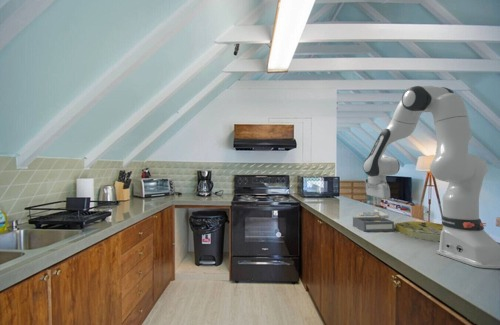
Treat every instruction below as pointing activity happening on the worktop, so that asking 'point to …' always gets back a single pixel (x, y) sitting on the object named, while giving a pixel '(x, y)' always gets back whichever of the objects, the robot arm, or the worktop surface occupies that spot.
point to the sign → (420, 229)
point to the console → (373, 224)
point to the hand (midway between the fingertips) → (377, 204)
